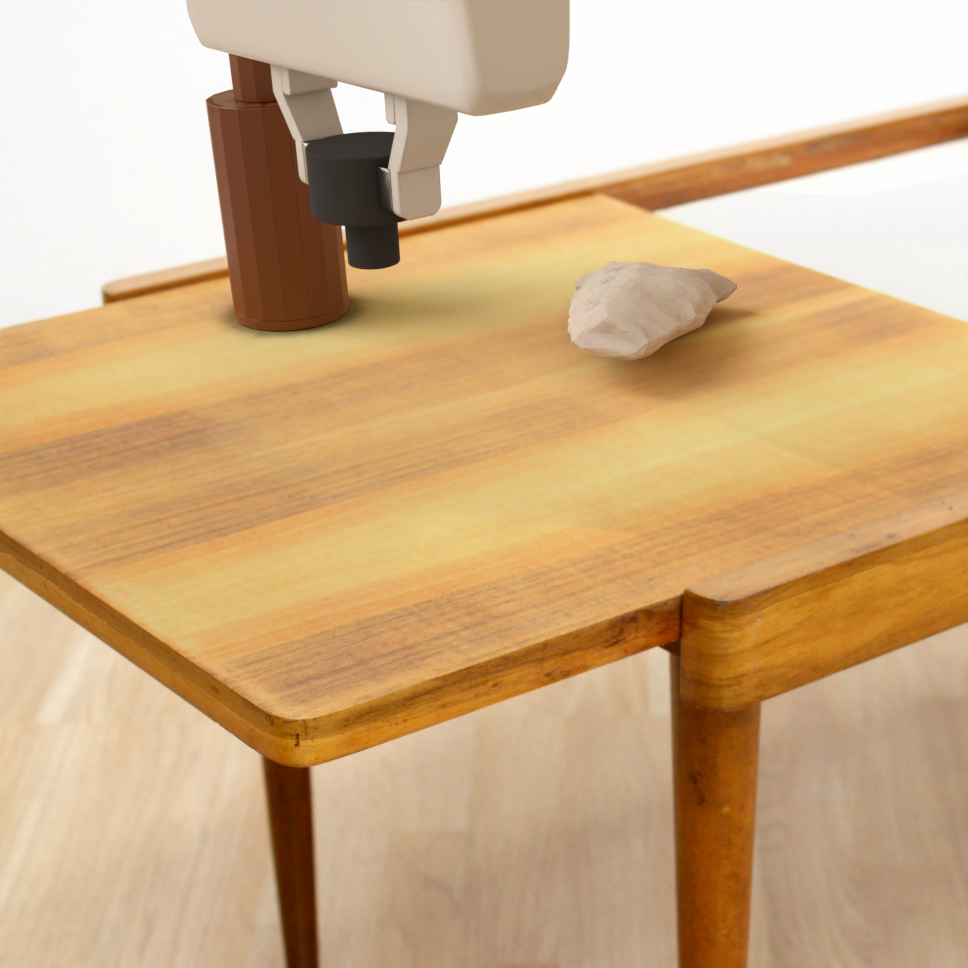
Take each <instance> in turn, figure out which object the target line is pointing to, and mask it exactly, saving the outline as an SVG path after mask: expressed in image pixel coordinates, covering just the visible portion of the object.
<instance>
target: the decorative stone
mask: <svg viewBox="0 0 968 968" xmlns="http://www.w3.org/2000/svg"><path fill="white" fill-rule="evenodd" d="M575 289H576V291H575V292H574V294H572V295H571V297H570V300H569V311H568V312H567V313H568V315H569V318H568V319H567V321H566V322H567V325H568V326H567V330H566V332H567V333H568V334H569V335H570V340H571V343H572V344H573V345H575V346H576V347H577V348H578V350H579V351H580V352H582V353H583V354H587V355H592V356H597V357H604V358H611V359H621V360H626V361H629V362H632V361H635V360H638V359H644V358H648V357H650V356H651V355H653V354H654V353H655V352H657V351H658V350H659V349H660V348H661V347H663V346H664V345H666V344H667V343H670V342H671V341H674V340H675V339H677V338H679V337H682V336H684V335H687V334H689V333H691V332H693V331H695V330H697V329H699V328H701V327H702V326H703V325H704V324H705V322H706V319H707V317H708V316H709V315H710V313H711V311H712V310H713V309H714V308H715V307H716V305H717V304H719V303H721V302H723V301H725V300H727V299H729V297H731V296H732V294H733V293H734V292H735V291H736V290H738V284H737V283H736V282H734V281H732V280H731V279H729V278H728V277H727V276H724V275H722V274H719V273H718V272H715V271H713V270H712V269H709V268H697V269H696V268H686V267H678V266H666V265H659V264H655V263H650V262H647V261H636V262H635V261H633V262H631V261H630V262H622V261H611V262H607V263H606V264H603V266H600V268H598V269H597V270H593V271H591V272H588V273H585V274H583V275H581V276H580V277H579V278H577V280H576V281H575Z"/></svg>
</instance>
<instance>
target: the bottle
mask: <svg viewBox="0 0 968 968" xmlns="http://www.w3.org/2000/svg"><path fill="white" fill-rule="evenodd" d="M227 54H228V60H229V67H230V68H229V69H230V76H231V85H232V89H227V90H223V91H221V92H218V93H214V94H212V95H210V96H208V97H207V98H206V99H205V106H206V114H207V121H208V127H209V128H208V129H209V135H210V143H211V151H212V157H213V166H214V173H215V180H216V188H217V194H218V195H217V196H218V203H219V210H220V217H221V226H222V231H223V232H222V234H223V240H224V248H225V256H226V262H227V271H228V275H229V276H228V277H229V278H228V279H229V284H230V291H231V292H230V293H231V300H232V306H233V309H234V310H233V311H234V314H235V315H234V317H235V320H236V321H237V323H238V324H240V325H241V326H244V327H246V328H249V329H254V330H261V331H270V332H284V331H287V332H288V331H297V330H305V329H311V328H315V327H319V326H323V325H327V324H331V323H332V322H334V321H337V320H338V319H341V318H342V317H343V316H344V315H346V314H347V312H348V310H349V308H350V307H349V289H348V280H347V279H348V277H347V268H346V267H347V266H346V258H345V248H344V238H343V237H344V236H343V228H342V227H343V226H339V225H332V224H327V223H323V222H320V221H318V220H316V219H315V218H314V217H313V216H312V213H311V204H310V194H309V185H308V184H305V183H304V182H302V181H301V179H300V177H299V171H298V161H297V152H296V142H295V139H293V137H292V134H291V132H290V130H289V127H288V125H287V123H286V120H285V118H284V116H283V113H282V111H281V109H280V106H279V104H278V102H277V100H276V97H275V95H274V93H273V86H272V77H271V67H270V64H269V63H265V62H261V61H257V60H253V59H249V58H245V57H241V56H237V55H234V54H230V53H227Z"/></svg>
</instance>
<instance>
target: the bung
mask: <svg viewBox="0 0 968 968" xmlns="http://www.w3.org/2000/svg"><path fill="white" fill-rule="evenodd" d="M394 134H395V131H378V130H377V131H356V132H347V133H343V134H340V135H334V136H329V137H325V138H322V139H318V140H316V141H313V142H311V143H310V144H308V145H307V146H306V148H305V154H306V164H307V174H308V184H309V194H310V204H311V213H312V216H313V217H314V218H315V219H316V220H318V221H320V222H323V223H327V224H332V225H339V226H342V227H344V232H345V242H346V243H345V245H346V255H347V263H348V265H349V267H351V268H354V269H358V270H365V271H366V270H367V271H369V270H382V269H388V268H391V267H394V266H397V265H398V264H399V263H400V261H401V251H400V249H401V248H400V236H399V223H403V222H407V221H408V220H407V219H404V218H401V217H398V216H396V215H393V214H390V213H387V212H386V211H384V210H383V209H381V207H380V205H379V194H380V189H379V187H378V184H377V171H376V166H380V165H385V164H389V160H390V155H391V150H392V145H393V140H394Z"/></svg>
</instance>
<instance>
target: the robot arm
mask: <svg viewBox="0 0 968 968" xmlns="http://www.w3.org/2000/svg"><path fill="white" fill-rule="evenodd" d="M185 2H186V9H187V14H188V17H189V20H190V23H191V26H192V29H193V31H194V33H195V35H196V37H197V39H198V41H199V43H200V44H201V45H202V46H203V47H204V48H207V49H210V50H214V51H218V52H223V53H227V54H228V53H230V54H234V55H237V56H241V57H245V58H249V59H253V60H257V61H261V62H265V63H269V64H270V67H271V77H272V86H273V93H274V95H275V97H276V100H277V102H278V104H279V106H280V109H281V111H282V113H283V116H284V118H285V120H286V123H287V125H288V127H289V130H290V132H291V134H292V137H293V139H295V142H296V152H297V161H298V171H299V177H300V179H301V181H302V182H304V183H305V184H308V174H307V164H306V154H305V148H306V146H307V145H308V144H310V143H311V142H313V141H316V140H318V139H322V138H325V137H329V136H334V135H340V134H344V130H343V127H342V124H341V123H342V122H341V120H340V116H339V113H338V110H337V106H336V102H335V99H334V96H333V91H332V89H336V88H338V86H339V85H338V84H339V83H342V84H347V85H351V86H354V87H357V88H363V89H367V90H370V91H374V92H379V93H383V98H384V110H385V120H386V123H387V124H389V125H393V126H394V125H395V130H394V132H395V134H394V140H393V145H392V150H391V155H390V160H389V164H385V165H380V166H376V171H377V184H378V187H379V189H380V194H379V205H380V207H381V209H383V210H384V211H386V212H387V213H390V214H393V215H396V216H398V217H401V218H404V219H407V221H414V220H417V219H422V218H427V217H431V216H434V215H435V214H437V213H438V212H439V211H440V209H441V205H442V189H441V188H442V187H441V169H440V168H441V165H442V164H443V161H444V158H445V156H446V153H447V150H448V148H449V145H450V142H451V139H452V137H453V135H454V133H455V129H456V127H457V124H458V121H459V114H464V115H467V116H472V117H483V116H490V115H495V114H501V113H508V112H512V111H514V112H515V111H519V110H523V109H527V108H532V107H537V106H541V105H544V104H547V103H549V102H550V101H551V100H552V99H553V97H554V95H555V94H556V92H557V90H558V88H559V86H560V84H561V83H562V81H563V78H564V76H565V74H566V72H567V69H568V63H569V56H570V41H571V40H570V39H571V38H570V37H571V35H570V32H571V0H185ZM338 82H339V83H338ZM308 185H309V184H308Z"/></svg>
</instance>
